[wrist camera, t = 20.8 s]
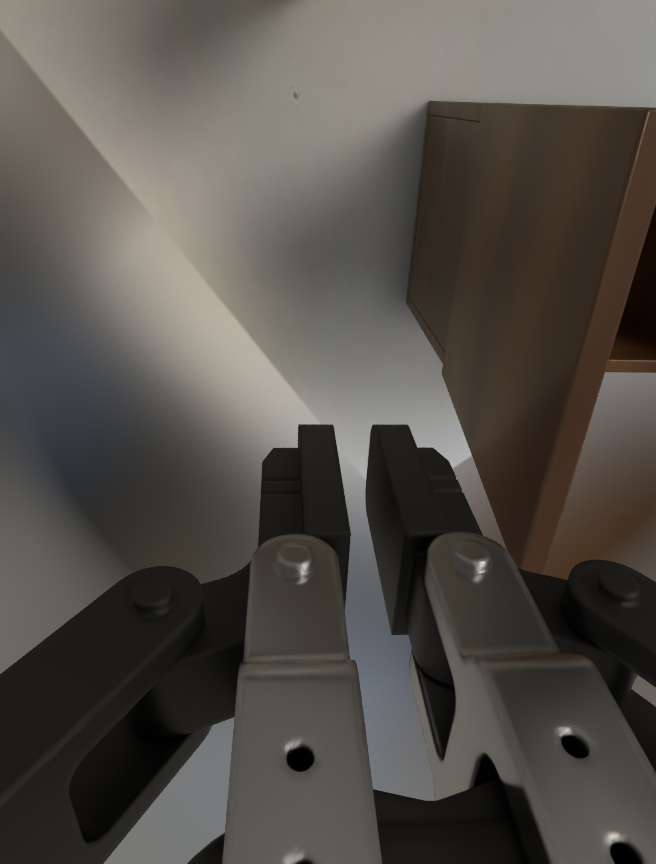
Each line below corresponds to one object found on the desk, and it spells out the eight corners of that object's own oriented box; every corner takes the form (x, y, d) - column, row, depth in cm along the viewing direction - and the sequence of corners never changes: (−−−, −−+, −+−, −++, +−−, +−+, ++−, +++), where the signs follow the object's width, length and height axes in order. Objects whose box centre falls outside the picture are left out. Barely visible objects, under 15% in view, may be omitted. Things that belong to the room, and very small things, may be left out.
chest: (654, 111, 39) (799, 117, 28) (599, 307, 46) (699, 373, 35) (428, 100, 38) (488, 102, 27) (405, 303, 45) (446, 371, 34)
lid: (686, 109, 12) (646, 107, 12) (543, 581, 19) (517, 580, 19) (500, 103, 27) (481, 102, 27) (455, 374, 33) (441, 374, 33)
